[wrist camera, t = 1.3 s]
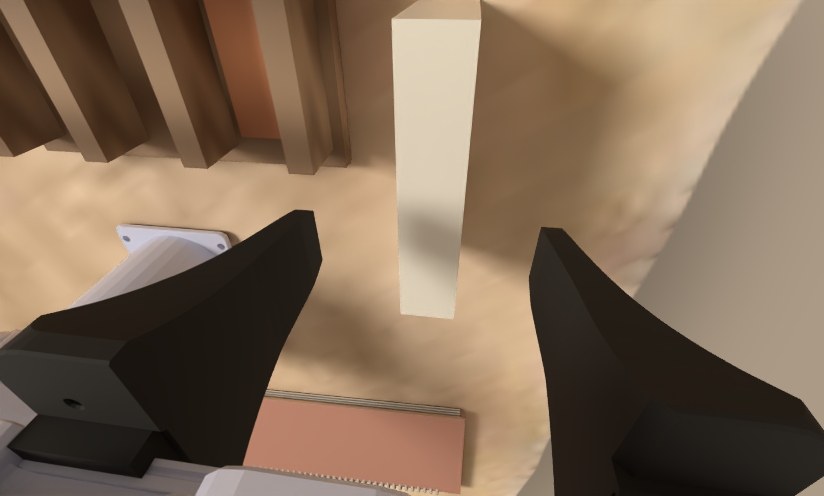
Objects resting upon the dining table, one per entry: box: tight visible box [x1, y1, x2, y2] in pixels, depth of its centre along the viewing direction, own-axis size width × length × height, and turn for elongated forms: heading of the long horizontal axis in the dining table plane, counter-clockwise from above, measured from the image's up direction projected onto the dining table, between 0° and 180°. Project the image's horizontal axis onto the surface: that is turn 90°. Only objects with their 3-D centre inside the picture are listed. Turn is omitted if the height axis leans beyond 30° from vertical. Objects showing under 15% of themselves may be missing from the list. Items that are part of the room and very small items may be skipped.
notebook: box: [243, 390, 465, 495], centre depth 41 cm, size 27×17×2 cm, turn 93°
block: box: [392, 0, 481, 319], centre depth 17 cm, size 12×2×7 cm, turn 0°
